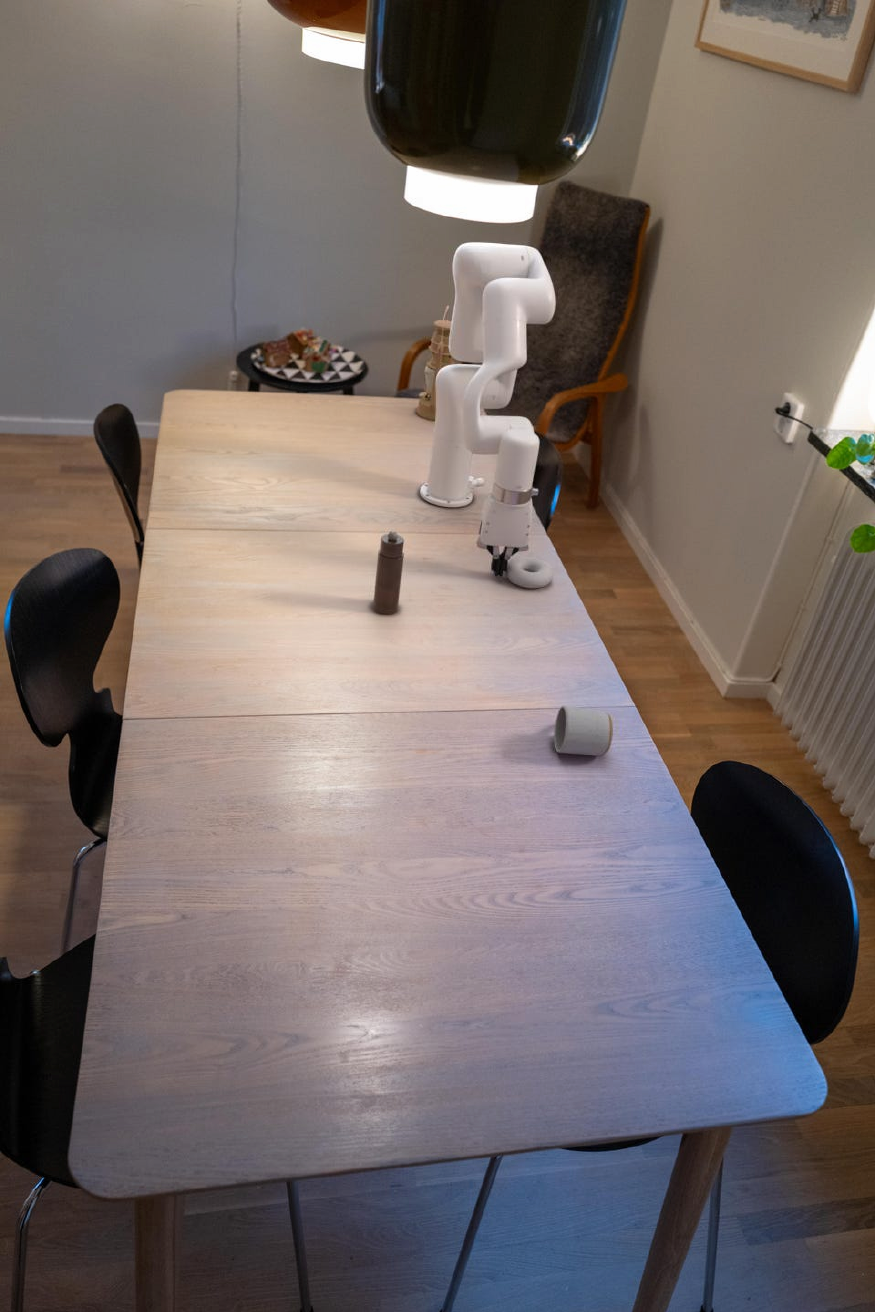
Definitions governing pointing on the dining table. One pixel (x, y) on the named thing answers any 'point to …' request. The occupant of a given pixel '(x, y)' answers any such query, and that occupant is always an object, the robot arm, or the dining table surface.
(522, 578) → the donut
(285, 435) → the dining table surface
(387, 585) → the pepper mill
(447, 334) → the lantern
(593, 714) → the ceramic mug
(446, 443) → the robot arm
